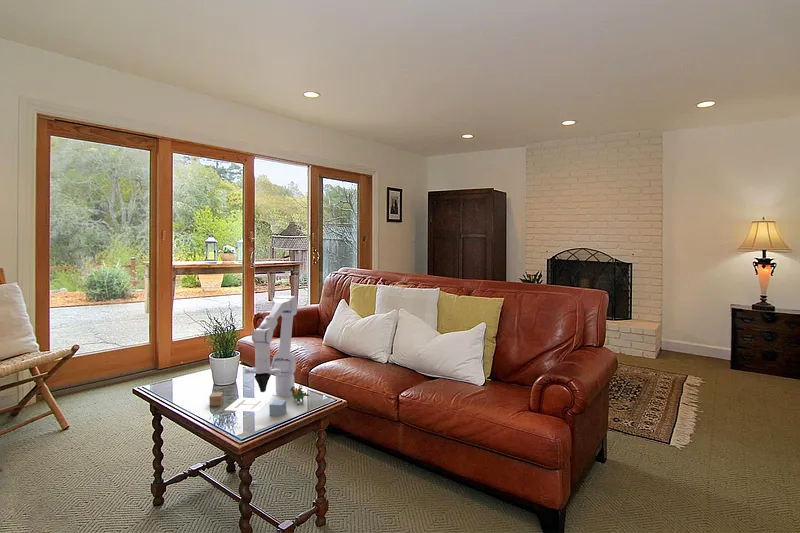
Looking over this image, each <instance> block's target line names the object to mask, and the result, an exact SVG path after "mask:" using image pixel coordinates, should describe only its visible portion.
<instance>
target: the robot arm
mask: <svg viewBox="0 0 800 533" xmlns="http://www.w3.org/2000/svg"><path fill="white" fill-rule="evenodd" d="M272 298H273V299H272V301H271V304H272V305H271V306H272V308H271V310H270V312H269V315H266V316H265V317H264V319H262V321H261V323H260V325H259V326H258V327H257V328H256V329H253V332H252V335H251V341H252V344H253V348H254V356H255V357H254V359H255V360H254V363H255V364H254V367H252V366H251V367H245V368H244V374H245V375H246V374H255V375H254V377H253V378H254V379H255V381H256V383H257V384H258V388H259V390H260V393H265V392H266V391H267V386H268V384H269V383H268V382H269V380H270V378H271V375H274V376H275V392H274V393H273V394H272V397H275V396H276V397H291V396H290V395H292V391H290V390H291V387H294V386H295V372H296V369H297V363H296V362H297V358H296V356H295V355H294V354H293V353H291V347H292V346H291V345H292V336H293V334H292V333H293V324H294V323H293V321H294V316H296V315H297V313H298V304H299V302H298V299H297V297H296V296H295V295H292V296H290V295H289V296H288V295H287V296H285V295H274V297H272ZM279 317H281V325H280V326H281V328H280V336H279V346H278V347H279V348H278V352H277V353H275V354H274V355H273V357H272V362H271V341H272V339H273V336H274V330H275V329H276V327H277V325H278V319H279ZM293 389H294V388H293ZM294 390H295V391H296V388H295V389H294Z"/></svg>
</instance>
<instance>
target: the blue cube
mask: <svg viewBox="0 0 800 533" xmlns="http://www.w3.org/2000/svg"><path fill="white" fill-rule="evenodd" d="M286 412H287V400H283V399H282V400H281V399H274V400H272V402H270V404H269V417H283V416H284V415H285V414H286Z"/></svg>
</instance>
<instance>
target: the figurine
mask: <svg viewBox="0 0 800 533" xmlns="http://www.w3.org/2000/svg"><path fill="white" fill-rule="evenodd" d="M293 388H294V389H296V390H294V389H293ZM290 391H292V394H291V395H290V396H289V397H292V398H293V399H294V400H293V401H294V403H296V402H298V403H297V405H300V406H301V404H304V397H311V395H309V393H307V392H306V391H304V390H303V386H302V385H301V384H300V385H299V386H298V388H297V387H296V386H295V385H294V387H291V390H290Z"/></svg>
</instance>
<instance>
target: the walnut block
mask: <svg viewBox="0 0 800 533" xmlns="http://www.w3.org/2000/svg"><path fill="white" fill-rule="evenodd" d="M208 398H209V399H208V400H209V407H216V406H222V404H223V402H224V392H222V391H221V392H218V391H217V392H211V394H210V395H209V397H208Z"/></svg>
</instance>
